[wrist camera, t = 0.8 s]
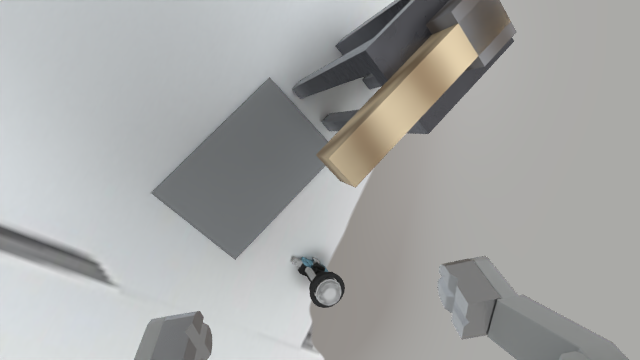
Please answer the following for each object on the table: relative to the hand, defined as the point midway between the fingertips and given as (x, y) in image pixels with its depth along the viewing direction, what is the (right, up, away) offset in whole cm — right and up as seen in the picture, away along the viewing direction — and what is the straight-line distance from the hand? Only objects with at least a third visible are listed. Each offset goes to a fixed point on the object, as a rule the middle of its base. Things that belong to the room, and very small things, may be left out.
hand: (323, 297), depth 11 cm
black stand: (+3, +20, +40) cm, 45 cm away
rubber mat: (-11, +5, +38) cm, 40 cm away
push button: (-2, -11, +44) cm, 45 cm away
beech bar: (+7, +11, +15) cm, 20 cm away
